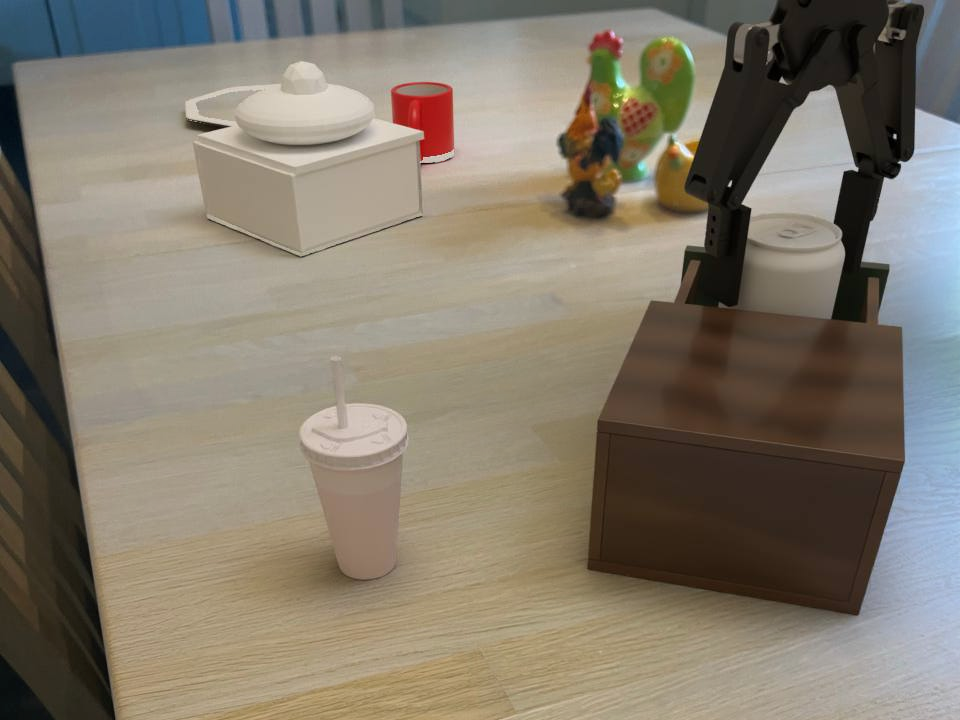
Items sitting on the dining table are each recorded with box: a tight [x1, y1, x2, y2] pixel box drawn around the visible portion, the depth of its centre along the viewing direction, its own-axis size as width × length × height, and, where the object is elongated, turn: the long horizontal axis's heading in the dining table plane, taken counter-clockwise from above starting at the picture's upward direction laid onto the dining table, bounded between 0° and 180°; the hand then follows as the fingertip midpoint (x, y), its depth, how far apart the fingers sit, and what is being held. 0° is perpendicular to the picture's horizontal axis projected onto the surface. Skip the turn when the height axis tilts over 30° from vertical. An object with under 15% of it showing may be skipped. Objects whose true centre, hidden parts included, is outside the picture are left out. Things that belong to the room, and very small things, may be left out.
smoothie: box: [298, 355, 410, 581], centre depth 61 cm, size 6×6×14 cm
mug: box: [390, 81, 455, 161], centre depth 129 cm, size 8×12×8 cm, turn 176°
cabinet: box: [586, 300, 906, 616], centre depth 65 cm, size 18×17×11 cm
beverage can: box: [718, 212, 845, 319], centre depth 74 cm, size 8×8×12 cm
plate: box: [184, 83, 281, 128], centre depth 150 cm, size 24×24×2 cm
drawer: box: [673, 245, 891, 324], centre depth 78 cm, size 22×15×9 cm
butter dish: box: [192, 60, 424, 253], centre depth 110 cm, size 18×18×16 cm
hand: (783, 283), depth 73 cm, fingers open, 10 cm apart
